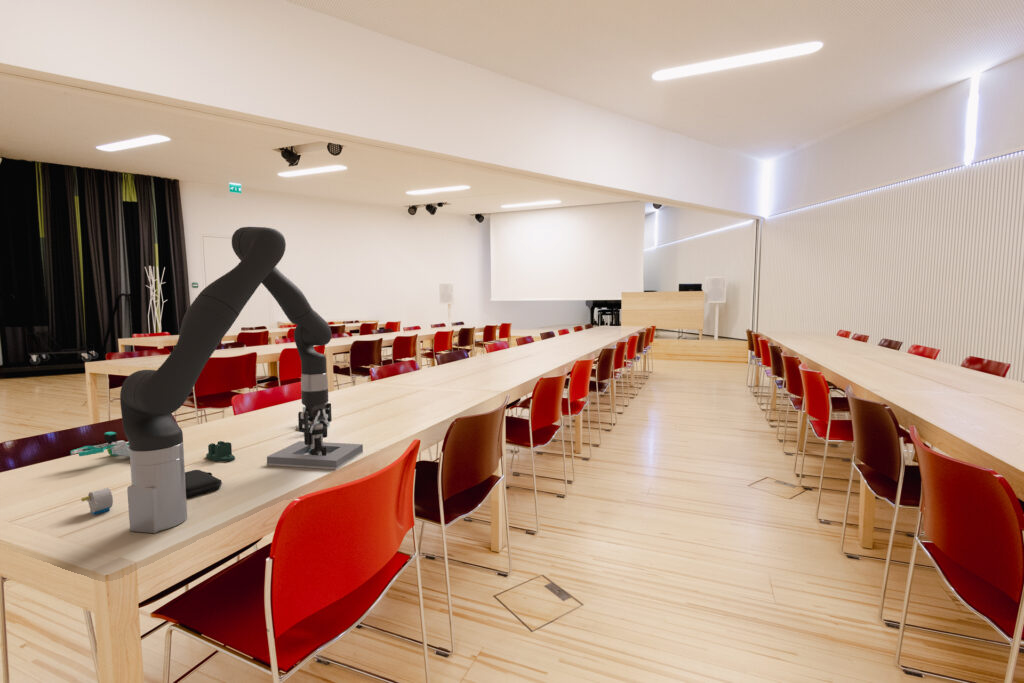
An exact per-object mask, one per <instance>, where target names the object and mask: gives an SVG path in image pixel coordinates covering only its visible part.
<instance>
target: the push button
mask: <svg viewBox="0 0 1024 683" xmlns="http://www.w3.org/2000/svg"><path fill="white" fill-rule="evenodd" d="M325 429H326V427H325V426H323V424H321V423H316V425H315V426H314V427H313V430H312V436H313V444H312V445H311V449H310V450H309V454H308V455H319V456H326V447H322V446H323V442H324V440H323V439H324V438H323V433H325Z"/></svg>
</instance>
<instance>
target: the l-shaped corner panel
mask: <svg viewBox="0 0 1024 683" xmlns="http://www.w3.org/2000/svg"><path fill="white" fill-rule="evenodd" d="M305 408H306V406H305V405H303V406H302V412H304V411H305ZM326 415H327V417H328V414H326ZM308 422H310V421H309V420H308ZM316 423H319V422H318V421H317V422H316ZM330 423H331V422H329V424H328V425H327V428H329V427H331V426H330ZM302 427H304V424H302ZM309 427H310V425H309ZM296 430H297V431H299V424H296Z"/></svg>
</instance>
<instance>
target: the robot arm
mask: <svg viewBox="0 0 1024 683" xmlns="http://www.w3.org/2000/svg"><path fill="white" fill-rule="evenodd" d="M286 247H287V246H286V239H285V236H284V235H283V233H282V232H281V231H279V230H278V229H275V228H273V227H272V228H271V227H265V226H243V227H240V228H238V229H236V230H235V231H234V232H233V234H232V237H231V248H232V250H233V252H234V254H235V255H236V256H237V258H238V259H239V260H240V261H239V263H238V264H237V265H236V266H235V267H234V268H232V269H231V270H230V271H228V272H226V274H223V275H221V276H220V277H218V278H216V279H215V280H214V281H212V282H211V283H210V284H208V285H207V286H206V287H205V288H204V289H203V290H201V291H200V292H199V294H198V295H197V296H196V297H195V299H194V300H193V302H192V303H191V304H190V305H189V307H188V308H187V310H186V312H185V313H184V315H183V318H182V321H181V325H180V329H179V335H178V340H177V342H176V344H175V347H174V348H173V349H172V351H171V352H170V354H169V355H168V357H167V358H165V360H164V362H162V364H161V365H160V366H159V367H158V369H142V370H141V369H140V370H137V371H134V372H133V373H131V374H129V375H128V376H127V377H126V378H125V380H124V381H123V382H122V386H121V388H120V393H119V395H120V396H119V398H120V399H119V400H120V411H121V412H120V413H121V421H122V428H123V432H124V434H125V437H126V439H127V441H128V443H129V449H130V457H129V462H130V463H129V464H130V478H131V485H129V486H127V489H126V491H127V505H128V520H129V523H128V524H129V531H130V532H137V533H148V534H149V533H150V534H156V533H158V532H160V531H164V530H168V529H170V528H174V527H176V526H178V525H180V524H183V522H185V521H186V520H187V519H188V504H187V498H186V484H185V472H186V470H185V451H184V450H185V449H184V435H183V430H182V428H181V427H180V426H179V425H178V424H177V423H176V421H175V419H174V418H173V415H172V413H175V412H176V411H177V410H179V409H180V408H181V407H182V406H183V405H184V403H185V402H186V401H187V399H188V398H189V396H190V394H191V392H192V390H193V389H194V387H195V384H196V383H197V381H198V379H199V377H200V376H201V374H202V371H203V369H204V367H205V366H206V364H207V362H208V361H209V360H210V358H211V357H212V355H213V354H214V352H215V351H216V349H217V348H218V346H219V345H220V343H221V341H222V340H223V338H224V337H225V336H226V335H227V333H228V332H229V330H230V329H231V327H232V326H233V325H234V323H235V322H236V320H237V319H238V317H239V316H240V314H241V312H242V311H243V309H244V307H245V306H246V305H247V303H248V302H249V301H250V299H251V297H252V296H253V295H254V294H255V292H256V290H257V289H258V288H259V286H260V285H261V284H262V285H263V287H264V288H266V290H267V291H268V292H269V293H270V294H271V296H272V297H273V298H274V300H275V301H276V303H277V304H278V306H279V307H280V309H281V310H282V312H283V313H284V315H285V316H286V318H287V319H288V320H289V322H290V323H292V325H296V326H295V328H294V332H293V339H294V343H295V346H296V349H297V352H298V355H299V358H300V364H301V365H300V368H301V370H300V372H301V378H300V390H301V392H300V393H301V395H300V396H301V397H300V398H301V404H302V405H303V406H306V408H305V411H304V412H303V411H298V413H297V414H298V415H297V417H298V418H297V419H298V420H297V422H298V425H299V430H298V432H299V433H303V439H304V440H303V441H304V442H305V445H312V444H313V436H312V430H313V427H314V426H315V425H316V422H317V421H318V422H319V423H321V424H323V426H325V427H326V429H325V433H323V439H324V438H328V427H327V425H328V424H329V422H330V423H331V422H332V419H333V418H332V404H331V402H329V381H328V373H327V372H328V371H327V358H326V355H325V354H324V353H320V352H317V351H316V349H315V346H317V347H319V346H321V347H322V346H323V347H324V346H326V345H328V344H329V343H330V342H331V339H332V336H333V335H332V329H331V326H330V325H329V324H328V322H327V321H326V320H325V319H324V318H323V317H322V316H321V315H320V314H319V313H318V312H317V311H315V310H314V309H313V308H312V305H311V304H310V302H309V301H308V299H307V298H306V296H305V294H304V293H303V291H302V290H301V289H300V288H299V287H298V286H297V285H296V284H295V283H294V282H293V281H292V280H290V278H288V277H287V276H285V274H284V273H282V272H281V270H280V269H278V268H277V267H276V266H277V265H279V263H280V261H282V258H283V257H284V255H285V251H286ZM328 402H329V403H328ZM326 414H328V417H327V415H326ZM308 420H309V421H310V422H308ZM302 424H304V427H302ZM309 425H310V427H309Z"/></svg>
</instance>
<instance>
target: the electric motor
mask: <svg viewBox="0 0 1024 683" xmlns="http://www.w3.org/2000/svg"><path fill="white" fill-rule="evenodd" d="M112 494H113V493H112V491H111V489H110V488H109V487H106V488H101V489H97V490H93V491H89V493H88V495H87V496H85V497H81V498H80V499H81V502H87V503H88V507H89V509H90V510H89V511H90V514H91V515H93V516H96V515H99V514H102V513H106V512H109V511H110V509H111V508H112V507H113V503H114V500H113V495H112Z"/></svg>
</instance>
